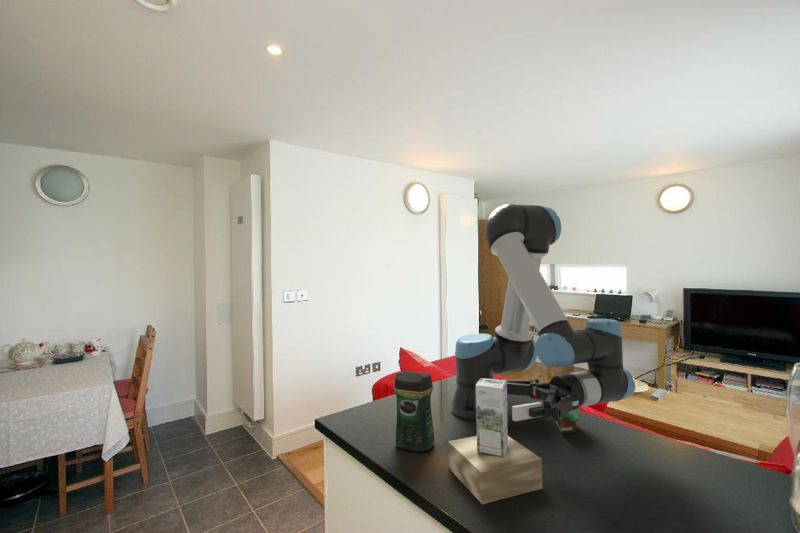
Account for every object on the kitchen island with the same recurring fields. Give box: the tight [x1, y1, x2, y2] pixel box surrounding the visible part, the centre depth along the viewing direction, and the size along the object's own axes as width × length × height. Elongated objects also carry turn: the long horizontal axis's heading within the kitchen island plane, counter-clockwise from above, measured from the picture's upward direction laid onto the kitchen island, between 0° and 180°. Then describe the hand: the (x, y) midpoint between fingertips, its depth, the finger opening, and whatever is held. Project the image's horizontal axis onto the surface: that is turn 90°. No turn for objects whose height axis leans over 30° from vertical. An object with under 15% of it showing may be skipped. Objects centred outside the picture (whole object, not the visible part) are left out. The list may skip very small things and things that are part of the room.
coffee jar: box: [393, 370, 435, 453], centre depth 96 cm, size 10×8×19 cm
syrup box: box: [475, 378, 509, 457], centre depth 80 cm, size 6×6×14 cm
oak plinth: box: [447, 435, 543, 505], centre depth 80 cm, size 14×14×6 cm
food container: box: [554, 408, 579, 434], centre depth 105 cm, size 12×6×10 cm, turn 168°
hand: (493, 402), depth 80 cm, fingers open, 13 cm apart
